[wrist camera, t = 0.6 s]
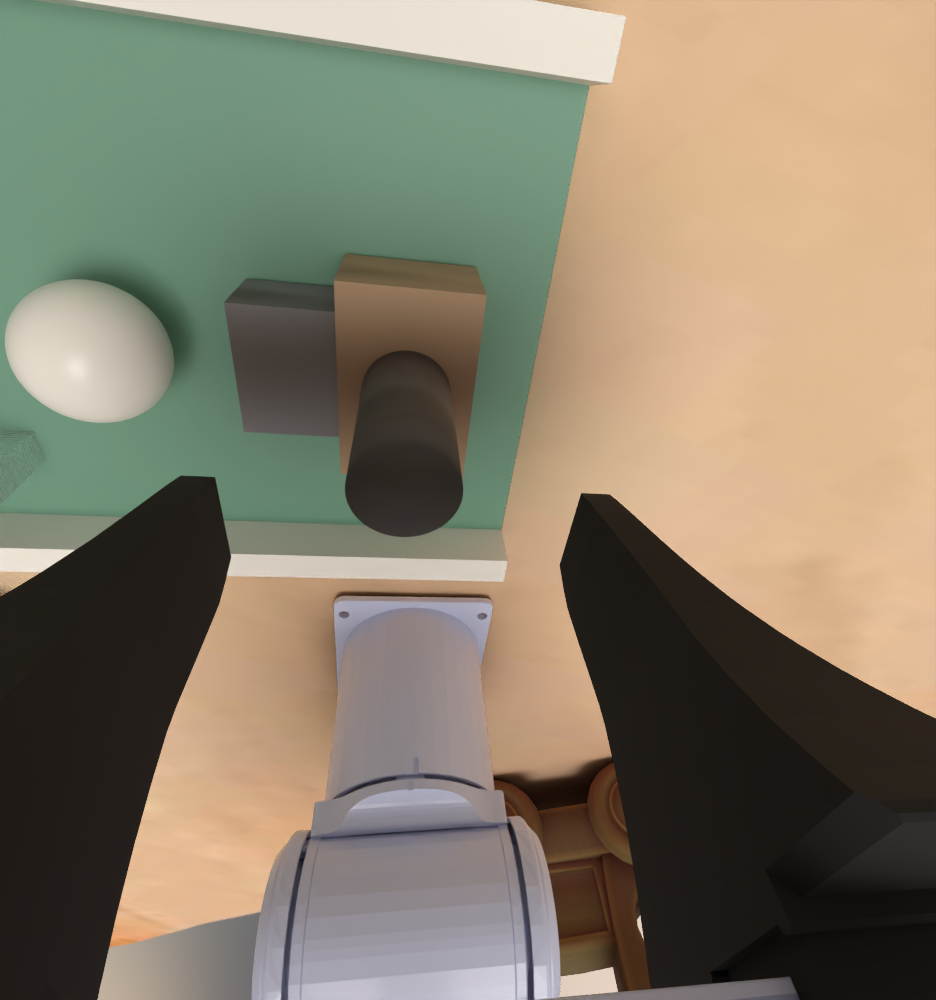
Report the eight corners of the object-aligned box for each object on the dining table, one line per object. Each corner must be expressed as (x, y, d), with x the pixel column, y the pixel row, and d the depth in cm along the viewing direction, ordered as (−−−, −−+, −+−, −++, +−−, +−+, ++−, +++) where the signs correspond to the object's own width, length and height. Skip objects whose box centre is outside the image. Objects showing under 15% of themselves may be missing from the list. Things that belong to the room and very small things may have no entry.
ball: (202, 391, 18) (159, 452, 15) (77, 383, 18) (5, 444, 15) (178, 270, 16) (121, 312, 13) (33, 256, 16) (-64, 297, 12)
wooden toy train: (696, 739, 39) (843, 1072, 25) (680, 807, 46) (790, 1096, 32) (425, 781, 39) (433, 1131, 26) (450, 842, 46) (466, 1142, 33)
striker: (456, 434, 20) (477, 588, 14) (264, 422, 19) (191, 583, 13) (475, 267, 17) (515, 371, 10) (241, 243, 16) (124, 342, 9)
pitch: (494, 535, 25) (503, 581, 23) (-138, 514, 21) (-207, 567, 19) (590, 29, 14) (626, 16, 12) (-635, -177, 11) (-931, -254, 8)
